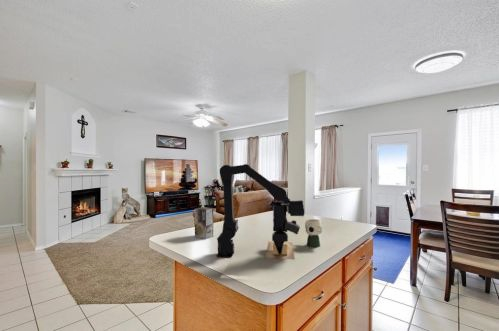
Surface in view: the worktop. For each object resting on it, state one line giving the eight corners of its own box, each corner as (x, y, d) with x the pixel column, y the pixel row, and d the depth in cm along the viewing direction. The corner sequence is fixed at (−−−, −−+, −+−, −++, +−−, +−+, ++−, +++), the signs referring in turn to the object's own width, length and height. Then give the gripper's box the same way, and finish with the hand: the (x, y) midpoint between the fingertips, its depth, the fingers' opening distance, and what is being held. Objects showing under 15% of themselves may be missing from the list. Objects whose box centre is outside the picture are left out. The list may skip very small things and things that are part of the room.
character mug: (300, 245, 112) (299, 219, 113) (310, 243, 116) (310, 217, 116) (316, 252, 103) (316, 223, 103) (327, 249, 106) (327, 221, 107)
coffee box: (213, 236, 129) (213, 208, 129) (206, 239, 123) (206, 209, 124) (202, 234, 133) (202, 206, 134) (194, 236, 128) (194, 208, 129)
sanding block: (273, 254, 97) (273, 245, 97) (273, 251, 101) (273, 242, 101) (287, 255, 96) (287, 245, 96) (286, 251, 100) (286, 242, 100)
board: (265, 260, 94) (265, 257, 94) (268, 243, 115) (268, 241, 115) (294, 261, 92) (294, 259, 92) (292, 244, 114) (292, 242, 114)
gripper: (300, 220, 88) (300, 261, 88) (296, 212, 107) (297, 245, 106) (272, 220, 90) (272, 259, 89) (273, 212, 108) (273, 244, 108)
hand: (279, 251), depth 98 cm, fingers closed on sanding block, 4 cm apart
